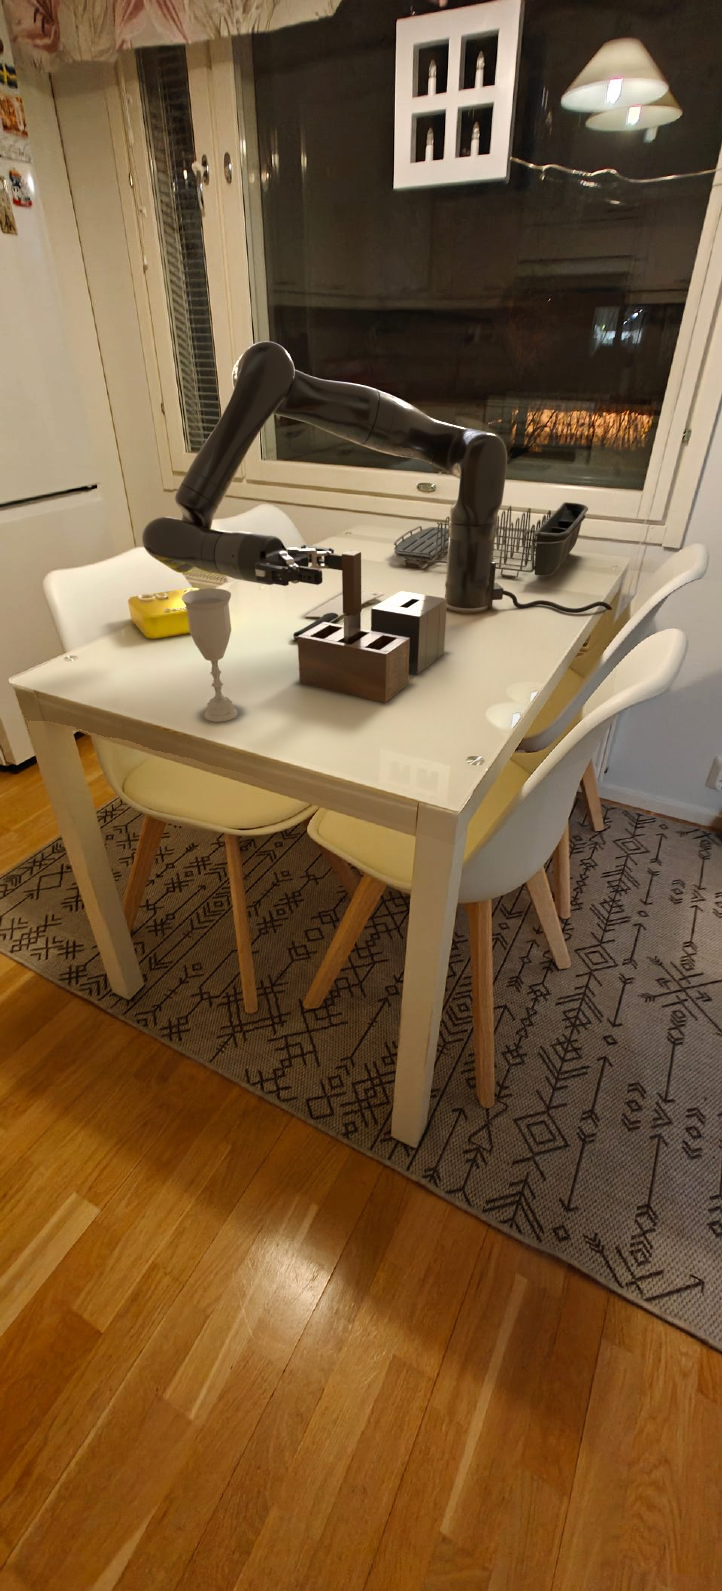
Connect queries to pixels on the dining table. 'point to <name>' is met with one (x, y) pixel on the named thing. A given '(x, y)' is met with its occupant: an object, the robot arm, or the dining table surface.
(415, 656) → the knife block
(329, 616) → the kitchen cleaver
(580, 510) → the dish rack
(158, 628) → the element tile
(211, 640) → the chalice
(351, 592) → the chef knife
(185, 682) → the dining table surface
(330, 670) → the knife rack
